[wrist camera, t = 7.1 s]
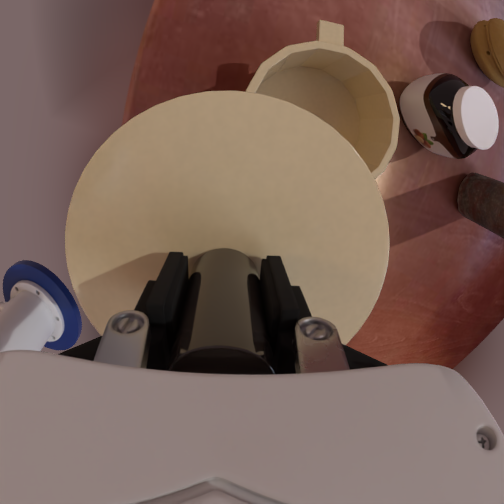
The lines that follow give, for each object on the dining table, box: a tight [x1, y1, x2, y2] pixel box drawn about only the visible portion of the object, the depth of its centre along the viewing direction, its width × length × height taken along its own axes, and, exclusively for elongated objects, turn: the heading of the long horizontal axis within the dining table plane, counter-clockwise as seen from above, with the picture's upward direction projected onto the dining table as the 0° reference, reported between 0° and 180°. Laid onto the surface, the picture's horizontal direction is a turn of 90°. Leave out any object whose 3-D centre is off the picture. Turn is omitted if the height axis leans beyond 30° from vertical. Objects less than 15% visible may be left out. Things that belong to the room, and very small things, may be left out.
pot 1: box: [246, 20, 400, 179], centre depth 26 cm, size 15×20×8 cm
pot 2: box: [470, 18, 504, 87], centre depth 19 cm, size 12×12×10 cm
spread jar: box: [399, 73, 499, 159], centre depth 24 cm, size 12×11×12 cm
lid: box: [65, 90, 390, 375], centre depth 10 cm, size 16×16×7 cm
